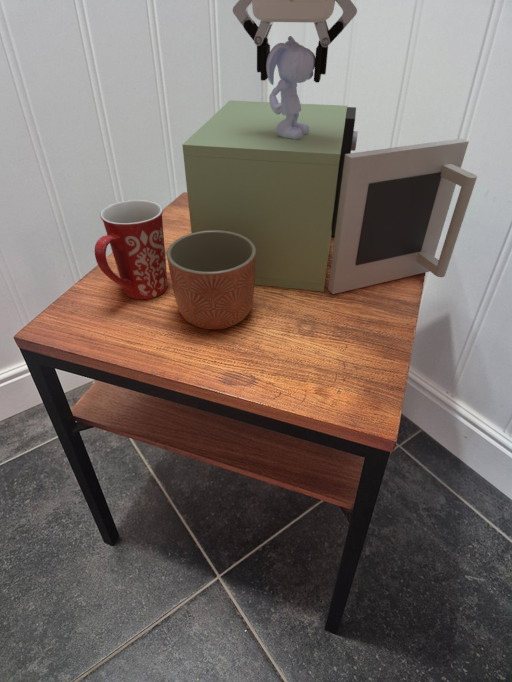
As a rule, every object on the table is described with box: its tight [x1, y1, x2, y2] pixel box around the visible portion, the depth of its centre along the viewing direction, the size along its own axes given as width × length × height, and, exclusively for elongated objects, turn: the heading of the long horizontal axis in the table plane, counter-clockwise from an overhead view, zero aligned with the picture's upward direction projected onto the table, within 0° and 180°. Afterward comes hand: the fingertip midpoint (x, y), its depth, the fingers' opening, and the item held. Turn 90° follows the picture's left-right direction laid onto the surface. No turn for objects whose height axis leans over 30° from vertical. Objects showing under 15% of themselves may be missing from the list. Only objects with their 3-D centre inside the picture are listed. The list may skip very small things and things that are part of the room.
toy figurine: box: [266, 35, 316, 140], centre depth 61 cm, size 7×6×12 cm
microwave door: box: [327, 138, 478, 295], centre depth 66 cm, size 7×20×22 cm, turn 112°
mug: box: [94, 199, 168, 300], centre depth 68 cm, size 13×9×14 cm
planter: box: [166, 230, 256, 330], centre depth 64 cm, size 12×12×11 cm
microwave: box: [182, 100, 359, 293], centre depth 77 cm, size 24×28×22 cm
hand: (291, 78), depth 61 cm, fingers closed on toy figurine, 6 cm apart
